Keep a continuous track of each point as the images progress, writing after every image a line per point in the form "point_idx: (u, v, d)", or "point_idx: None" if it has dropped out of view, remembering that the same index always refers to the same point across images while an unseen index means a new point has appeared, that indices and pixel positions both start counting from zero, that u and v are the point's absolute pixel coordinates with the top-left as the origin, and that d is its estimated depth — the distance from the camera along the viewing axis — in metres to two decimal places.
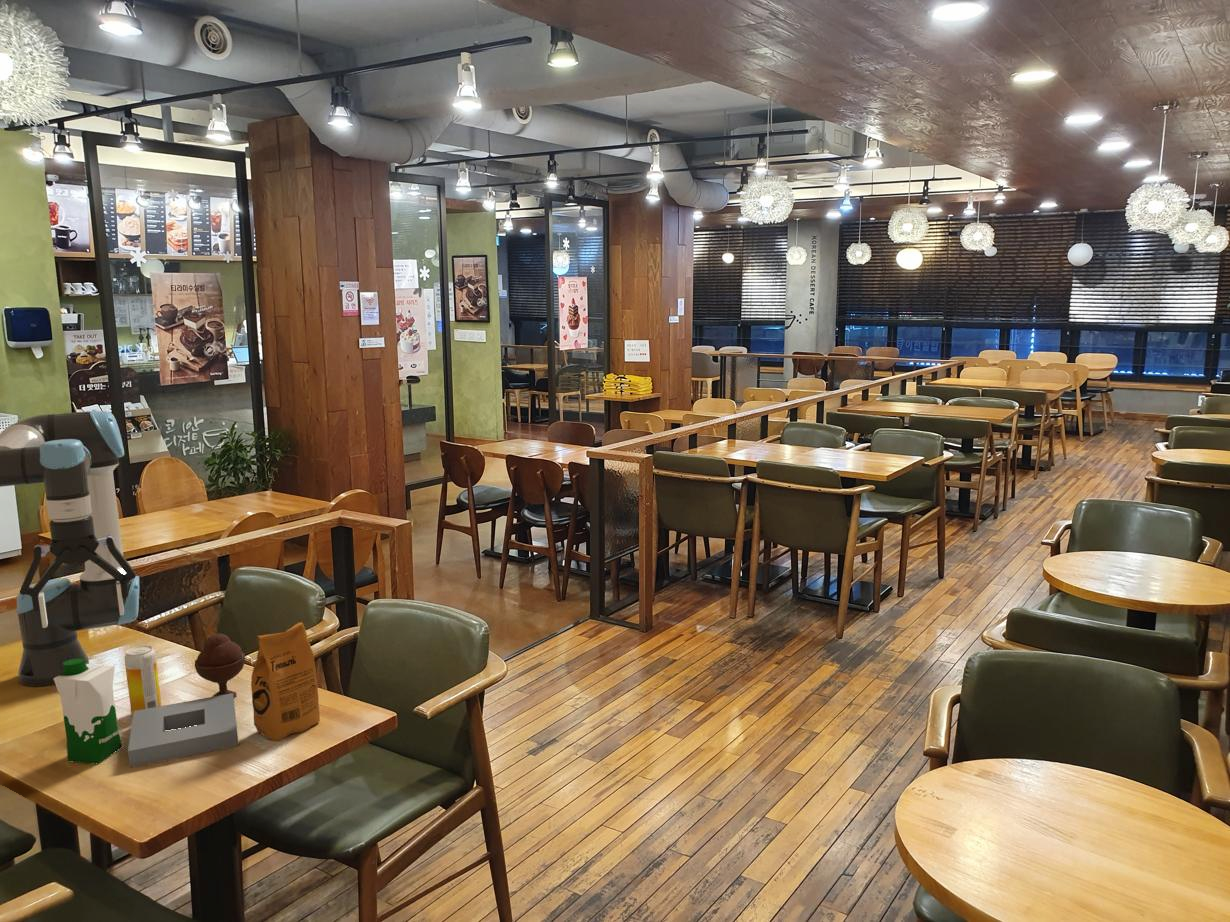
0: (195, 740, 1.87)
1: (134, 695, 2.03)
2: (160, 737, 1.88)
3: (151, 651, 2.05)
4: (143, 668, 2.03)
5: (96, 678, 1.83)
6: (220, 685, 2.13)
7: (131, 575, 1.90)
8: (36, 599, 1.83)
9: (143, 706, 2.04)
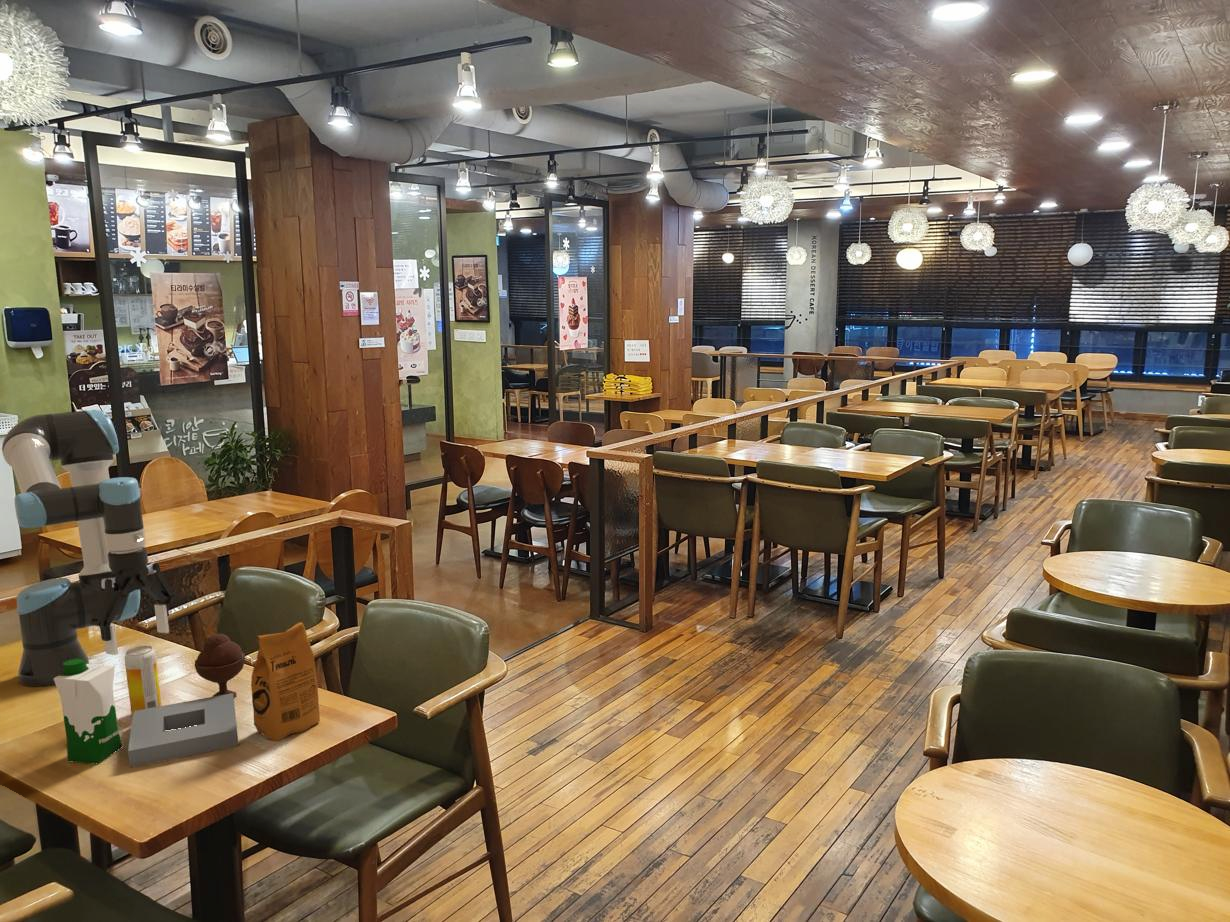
0: (195, 740, 1.87)
1: (134, 695, 2.03)
2: (160, 737, 1.88)
3: (151, 651, 2.05)
4: (143, 668, 2.03)
5: (96, 678, 1.83)
6: (220, 685, 2.13)
7: (172, 595, 2.11)
8: (108, 629, 1.96)
9: (143, 706, 2.04)
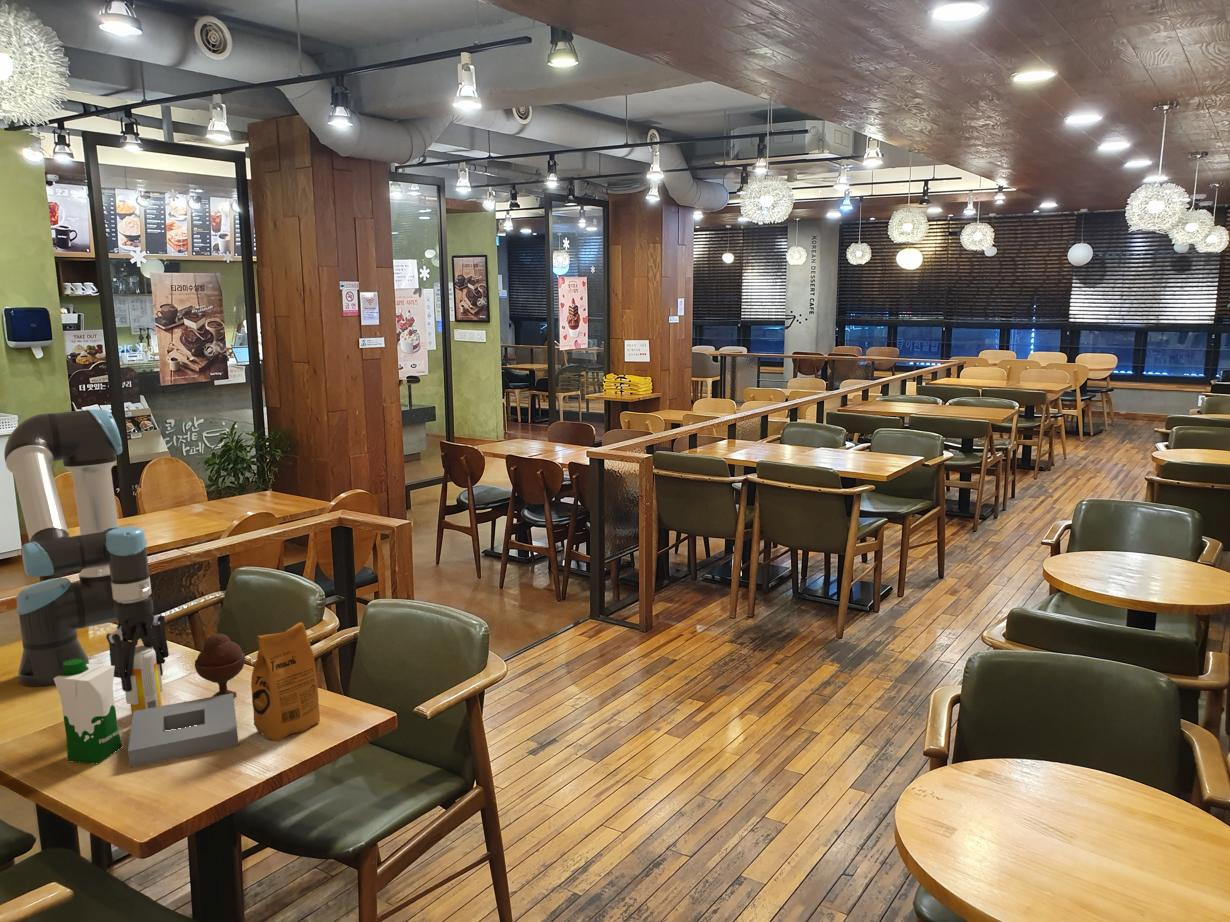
0: (195, 740, 1.87)
1: None
2: (160, 737, 1.88)
3: (151, 651, 2.05)
4: (143, 668, 2.03)
5: (96, 678, 1.83)
6: (220, 685, 2.13)
7: (166, 654, 2.10)
8: (129, 680, 2.02)
9: (143, 706, 2.04)
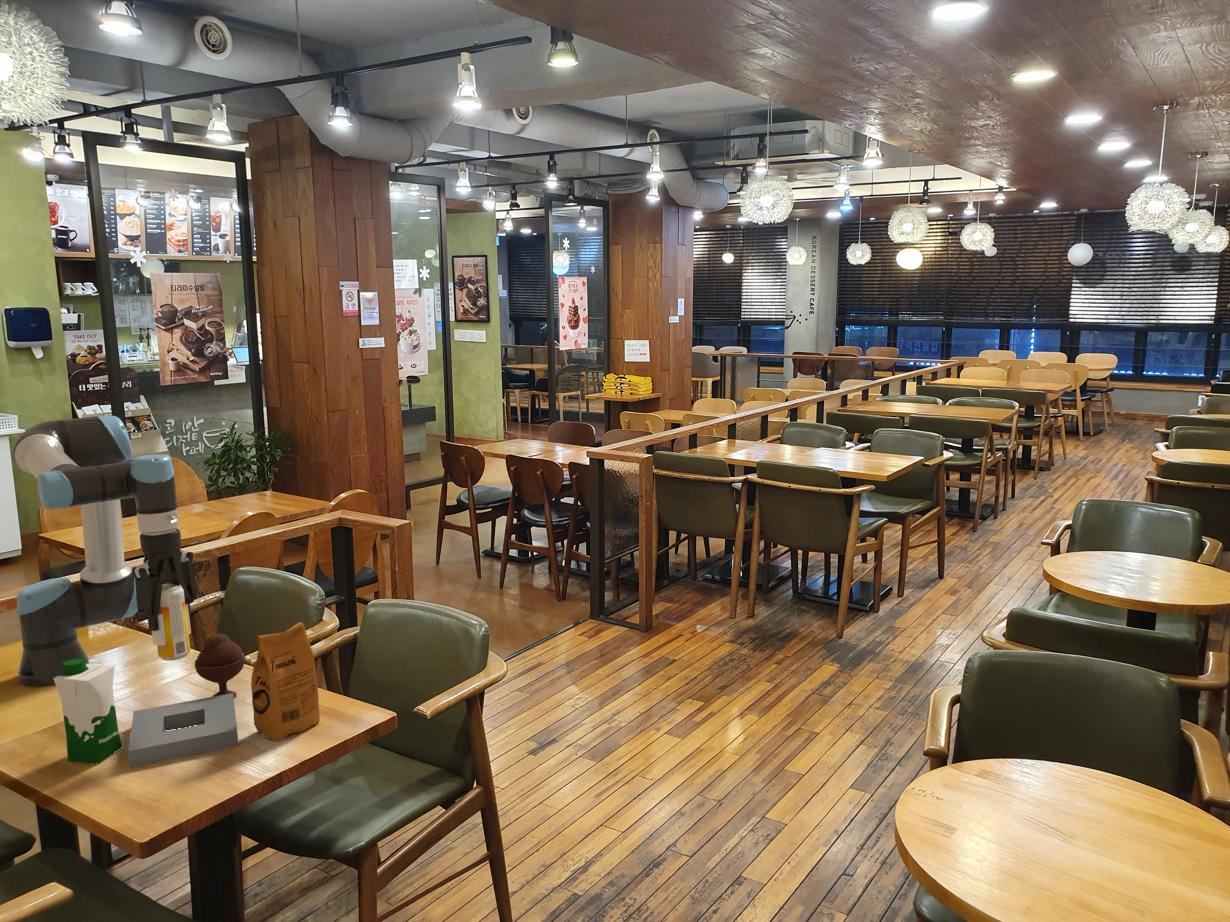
0: (195, 740, 1.87)
1: None
2: (160, 737, 1.88)
3: (179, 588, 1.91)
4: (171, 605, 1.89)
5: (96, 678, 1.83)
6: (220, 685, 2.13)
7: (194, 593, 1.96)
8: (156, 619, 1.88)
9: (171, 647, 1.90)
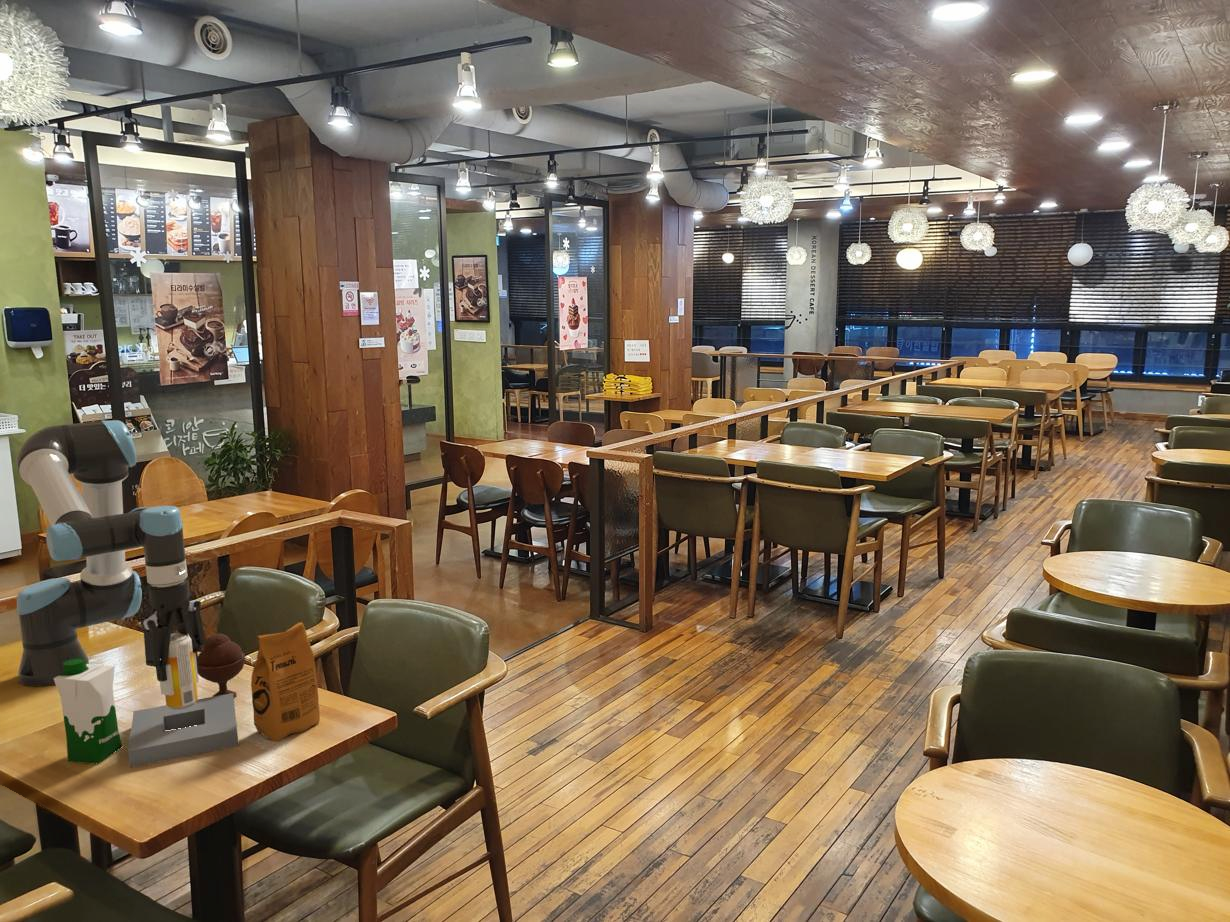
0: (195, 740, 1.87)
1: None
2: (160, 737, 1.88)
3: (187, 638, 1.92)
4: (179, 656, 1.90)
5: (96, 678, 1.83)
6: (220, 685, 2.13)
7: (202, 642, 1.98)
8: (164, 669, 1.89)
9: (179, 697, 1.92)
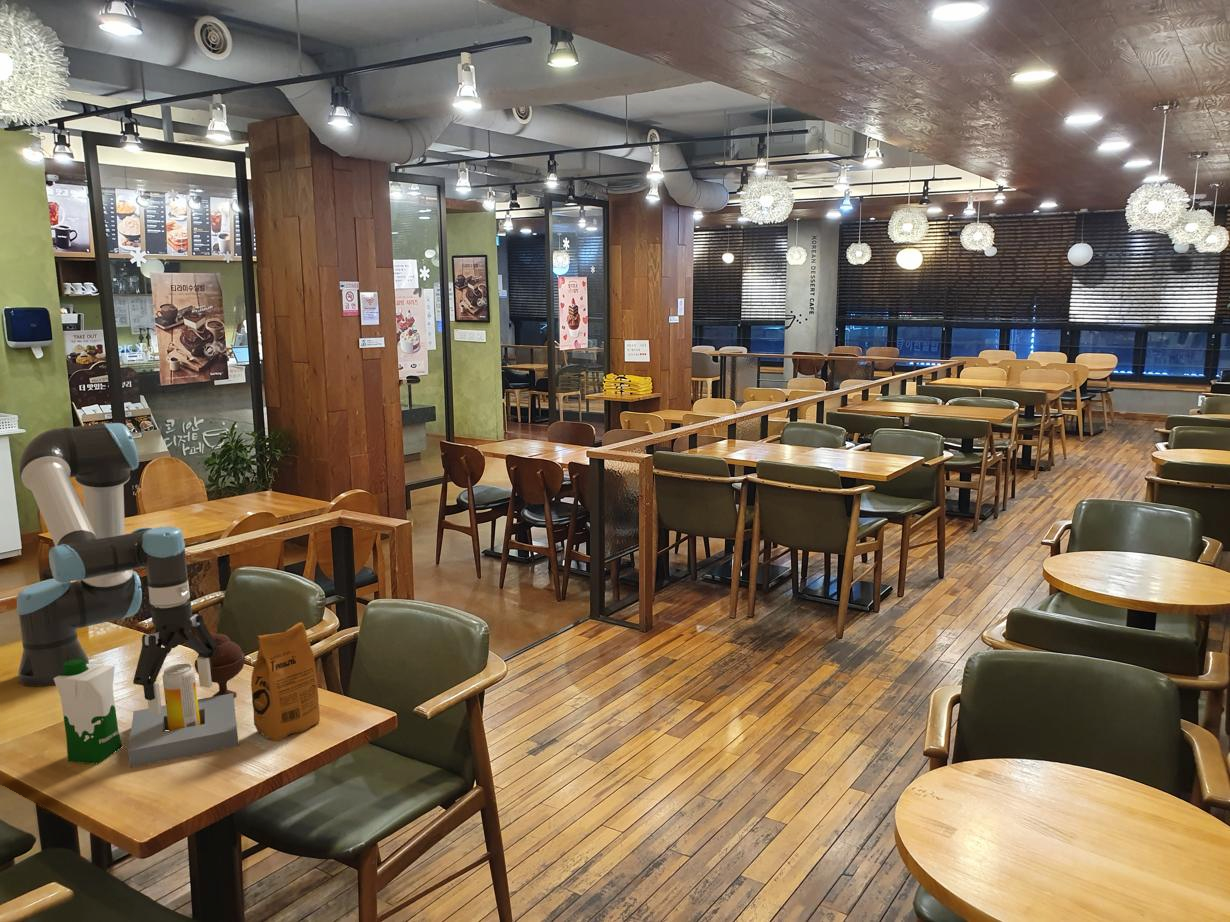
0: (195, 740, 1.87)
1: (173, 716, 1.92)
2: (160, 737, 1.88)
3: (190, 670, 1.94)
4: (182, 687, 1.92)
5: (96, 678, 1.83)
6: (220, 685, 2.13)
7: (215, 647, 2.01)
8: (151, 688, 1.86)
9: None
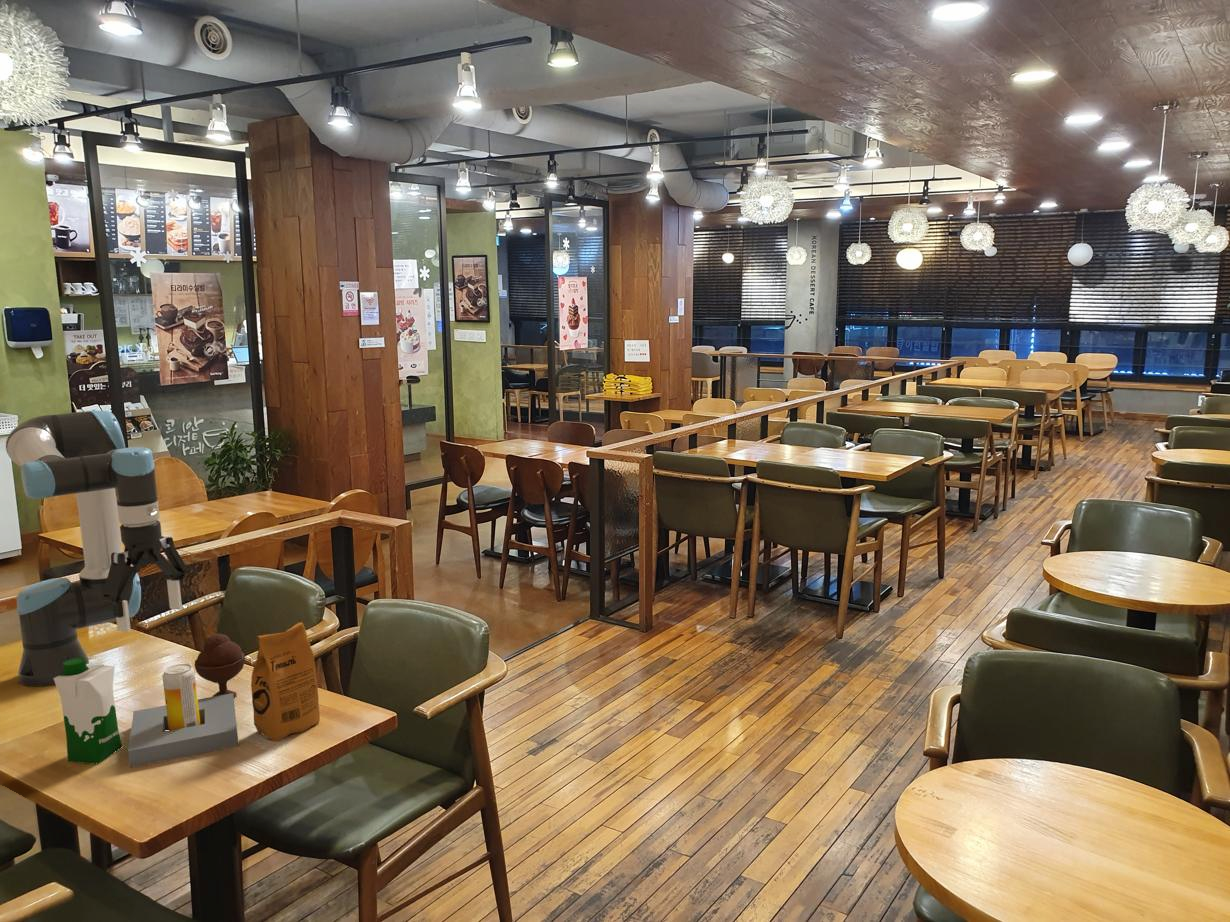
0: (195, 740, 1.87)
1: (173, 716, 1.92)
2: (160, 737, 1.88)
3: (190, 670, 1.94)
4: (182, 688, 1.92)
5: (96, 678, 1.83)
6: (220, 685, 2.13)
7: (185, 570, 2.03)
8: (120, 605, 1.88)
9: None
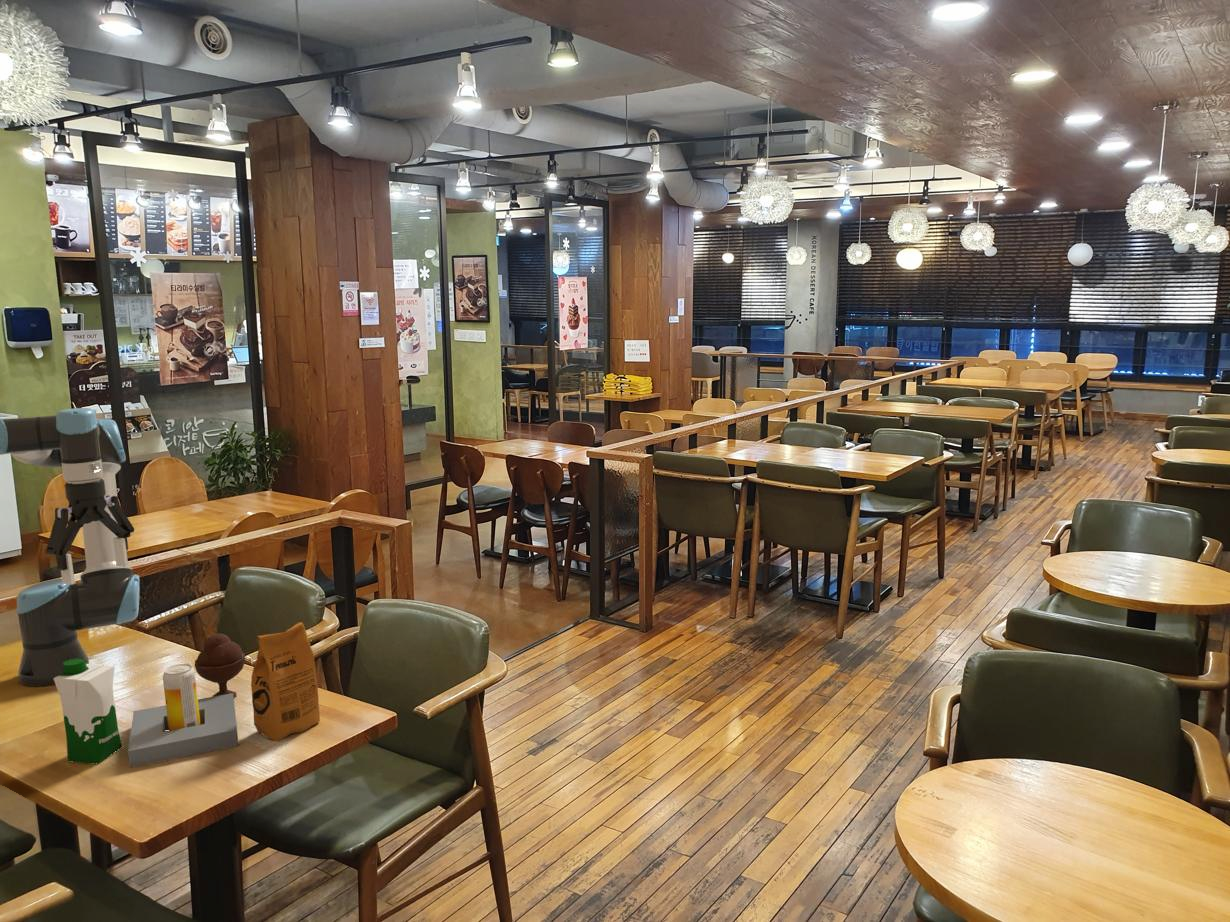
0: (195, 740, 1.87)
1: (173, 716, 1.92)
2: (160, 737, 1.88)
3: (191, 670, 1.94)
4: (182, 687, 1.92)
5: (96, 678, 1.83)
6: (220, 685, 2.13)
7: (131, 529, 2.11)
8: (64, 558, 1.96)
9: None
